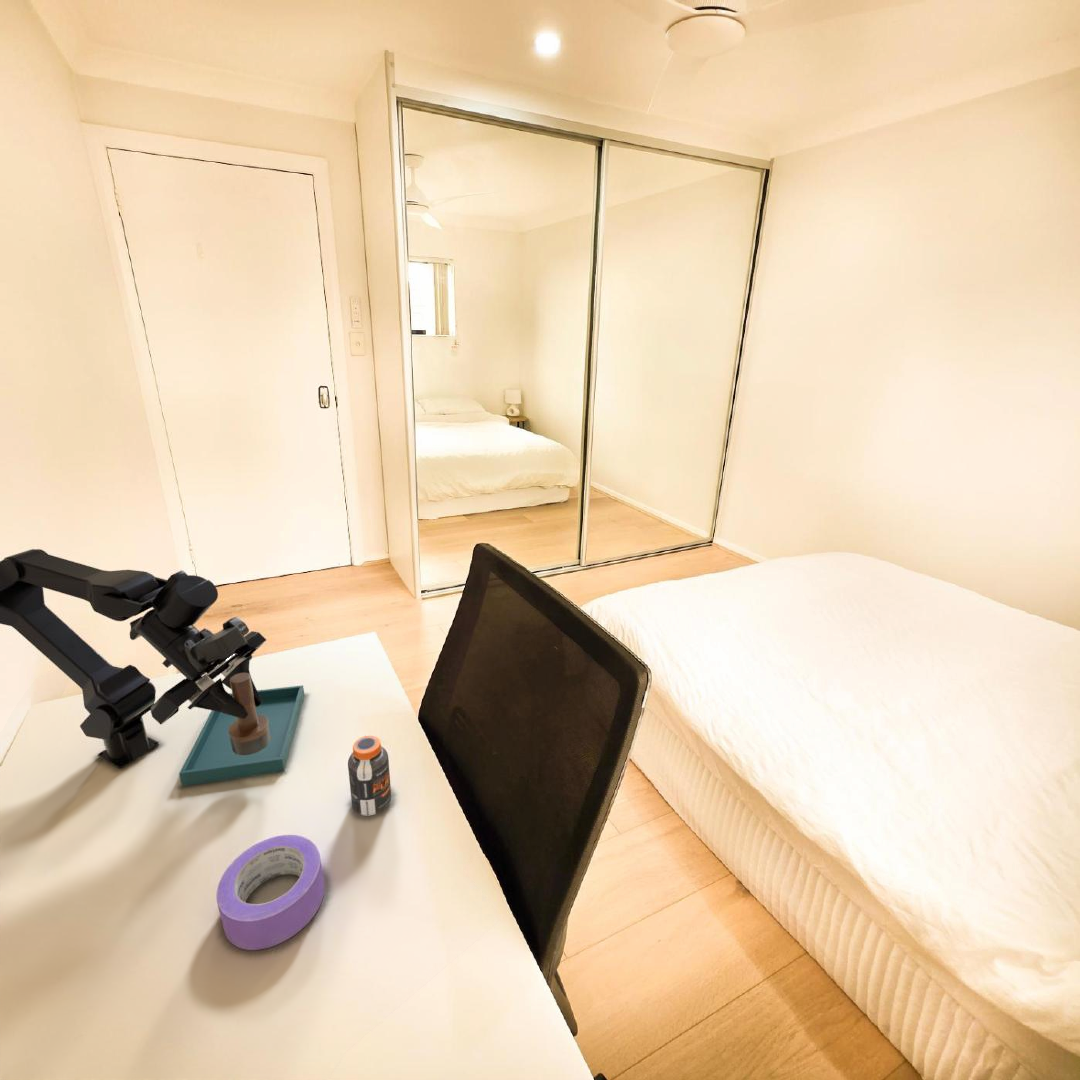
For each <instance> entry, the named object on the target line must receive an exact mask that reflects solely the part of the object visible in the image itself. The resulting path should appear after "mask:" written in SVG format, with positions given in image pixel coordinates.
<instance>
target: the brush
mask: <svg viewBox="0 0 1080 1080" xmlns="http://www.w3.org/2000/svg"><path fill="white" fill-rule="evenodd" d="M250 675H251V673H250V674H249V673H238V674H236V675H234V676H232V677H231V678H230V684H231V689H230V690H231V693H232V695H233V698H234V699H235V700H236V701H237V702H238V703H239V704H240V705H241V706H242V707H243V708H244V709H245V710H246V711H247V713H248V714H249V715H248V716H247V717H246V718H245V719H242V718H238V717H237V720H236V721H235V722H234V723H233V724H232V725H231V726H230V728H229V736H230V741H231V746H232V750H233V752H234V753H235V754H238V755H250V754H254V753H257V752H259V751H261V750H262V749H264V748H265V747H266V746H267V745H268V744H269V742H270V740H271V736H270V730H269V723H268V719H267V717H265V716H263V715H259V714H257V712H256V706H255V700H254V694H253V688H252V682H251V678H252V676H251V677H250Z"/></svg>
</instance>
